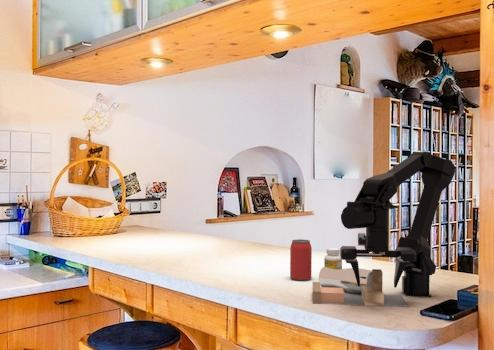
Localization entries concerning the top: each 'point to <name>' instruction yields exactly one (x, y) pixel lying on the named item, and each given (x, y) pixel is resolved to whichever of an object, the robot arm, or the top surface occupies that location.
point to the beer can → (300, 260)
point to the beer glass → (345, 279)
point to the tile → (332, 295)
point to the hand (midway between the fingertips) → (376, 286)
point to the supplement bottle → (333, 259)
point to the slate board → (358, 298)
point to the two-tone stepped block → (374, 290)
